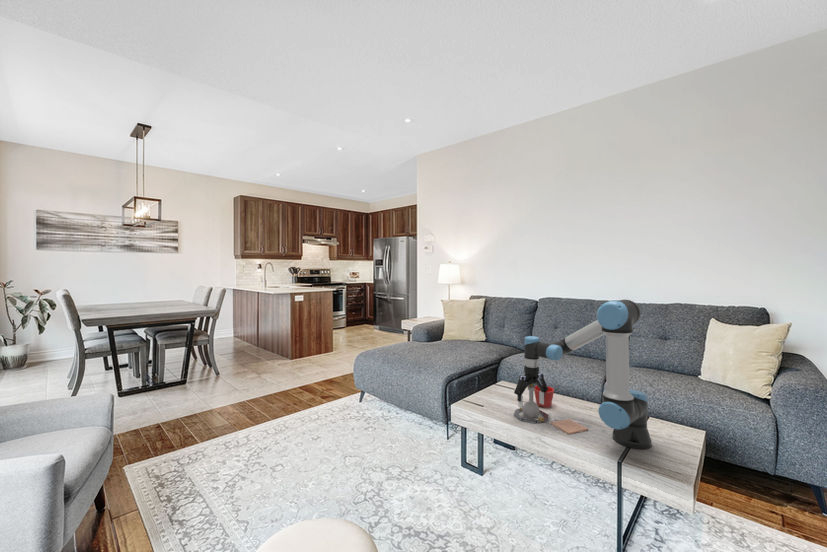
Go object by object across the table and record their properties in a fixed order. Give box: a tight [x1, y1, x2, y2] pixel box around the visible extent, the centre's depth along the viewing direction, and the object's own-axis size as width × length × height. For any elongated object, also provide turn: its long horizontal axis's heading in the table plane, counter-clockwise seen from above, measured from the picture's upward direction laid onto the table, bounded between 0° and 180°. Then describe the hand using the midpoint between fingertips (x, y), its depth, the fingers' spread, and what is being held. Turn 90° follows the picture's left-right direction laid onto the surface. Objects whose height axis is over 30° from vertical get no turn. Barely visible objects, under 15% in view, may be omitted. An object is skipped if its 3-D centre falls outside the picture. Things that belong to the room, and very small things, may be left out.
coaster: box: [550, 418, 589, 435], centre depth 175 cm, size 12×12×1 cm
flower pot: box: [533, 385, 555, 409], centre depth 203 cm, size 11×11×10 cm
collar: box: [513, 407, 550, 425], centre depth 187 cm, size 17×17×2 cm
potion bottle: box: [522, 384, 541, 420], centre depth 187 cm, size 9×9×18 cm
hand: (531, 405), depth 187 cm, fingers open, 13 cm apart
